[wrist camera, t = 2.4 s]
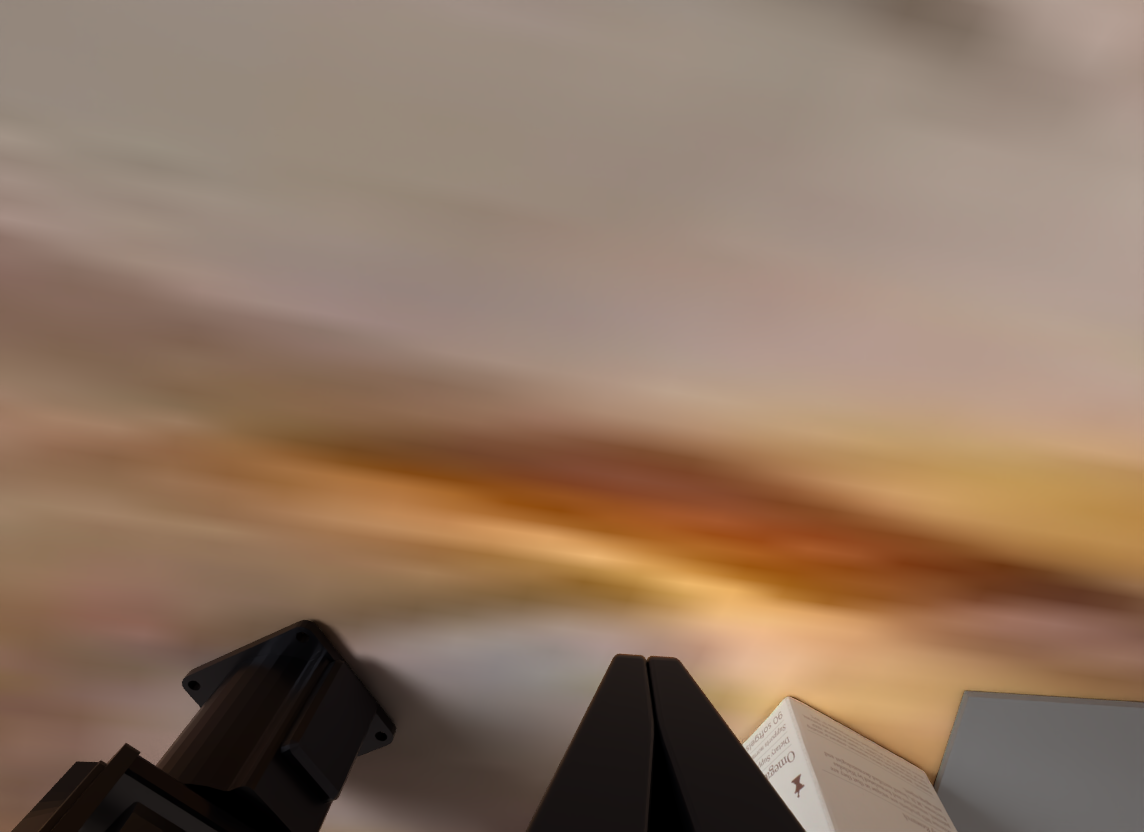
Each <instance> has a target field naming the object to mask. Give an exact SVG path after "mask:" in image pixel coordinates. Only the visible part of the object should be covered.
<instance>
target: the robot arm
mask: <svg viewBox="0 0 1144 832" xmlns="http://www.w3.org/2000/svg"><path fill="white" fill-rule="evenodd" d="M302 632H304V633H306V634H307V635H308V636H306V635H304V634H303V633H302ZM182 686H183V688H184V689H185V690H186V692H187V693H188V694H189V695H190V696H191V697H192V698H193V699H194V700H195V702H196V703H197V704H198V705H199V706H200V707H201V709H200V710H199V711H198V712H197V714H196V715H195V716H194V717H193V719H192V720H191V721H190V723H189V724H188V725H187V726H186V728H185V729H184V730H183V731H182V733H181V734H180V735H179V737H178V738H177V739H176V740H175V742H174V743H173V744H172V746H171V747H170V748H169V749H168V751H167V752H166V753H165V754H164V756H163V757H162V758H161V760H160V761H159V762H158V763H157V765H156V766H155V765H153V764H152V763H150V762H149V761H147V760H145V759H144V758H142V757H141V756H139V754H140V751H138V750H137V749H135V748H133V747H132V746H130V745H129V744H127V743H125V744H124V746H123V747H122V748H121V749H120V750H119V751H118V752H117V753H116V754H115V755H114V756H113V757H112V758H111V759H110V760H109V761H108V763H107V764H106V763H105V762H103V761H101V760H100V761H99V762H76V763H75V764H74V765H73V766H72V767H71V768H70V769H69V770H68V771H67V772H66V773H65V775H64V776H63V777H62V778H61V779H60V780H59V781H58V782H57V783H56V784H55V785H54V786H53V787H52V789H51V790H50V791H49V792H48V793H47V794H46V795H45V796H44V797H43V798H42V799H41V800H40V801H39V803H38V804H37V805H36V806H35V807H34V808H33V809H32V810H31V811H30V812H29V813H28V814H27V815H26V816H25V818H24V819H23V820H22V821H21V822H20V823H19V824H18V825H17V826H16V827H15V828H14V829H13V830H12V831H11V832H319V831H320V829H321V826H322V824H323V822H324V820H325V817H326V815H327V813H328V811H329V809H330V806H331V804H332V802H333V800H336V799H337V798H338V797H339V795H340V793H341V791H342V789H343V786H344V784H345V782H346V780H347V777H348V775H349V773H350V770H351V768H352V766H353V764H354V761H355V759H356V757H357V756H360V755H363V754H365V753H368V752H370V751H373V750H376V749H378V748H381V747H383V746H386V745H388V744H390V743H391V742H392V740H393V738H394V736H395V733H396V727H395V725H394V723H393V722H392V721H391V720H390V718H389V717H388V716H387V714H386V713H385V712H384V711H383V709H382V708H381V707H380V705H379V704H378V703H377V702H376V700H375V699H374V698H373V697H372V695H371V694H370V693H369V691H368V690H367V689H366V688H365V686H364V685H363V684H362V682H361V681H360V680H359V679H358V677H357V676H356V675H355V673H354V672H353V671H352V670H351V668H350V667H349V666H348V665H347V663H346V662H345V661H344V659H343V658H342V657H341V656H340V654H339V653H338V652H337V650H336V649H335V648H334V647H333V645H332V644H331V643H330V641H329V640H328V639H327V638H326V636H325V635H324V634H323V633H322V631H321V630H320V629H319V627H318V626H317V625H316V624H315V623H313V622H311V621H308V620H302V621H299V622H297V623H294V624H292V625H290V626H288V627H285V628H283V629H281V630H279V631H277V632H274V633H272V634H270V635H268V636H266V637H263V638H261V639H259V640H257V641H254V642H252V643H250V644H248V645H246V646H243V647H241V648H239V649H237V650H235V651H232V652H230V653H228V654H226V655H223V656H221V657H219V658H217V659H215V660H212V661H210V662H208V663H206V664H203V665H201V666H199V667H197V668H195V669H192V670H191V671H190V672H189V673H188V674H187V675H186V676H185V678H184V679H183V681H182ZM382 732H384V733H382ZM526 832H806V831H805V829H804V828H803V827H802V825H801V824H800V823H799V821H798V820H797V819H796V817H795V816H794V814H793V813H792V812H791V810H790V809H789V808H788V806H787V805H786V804H785V802H784V801H783V800H782V798H781V797H780V796H779V794H778V793H777V791H776V790H775V789H774V787H773V786H772V785H771V783H770V782H769V781H768V779H767V778H766V777H765V775H764V774H763V773H762V771H761V770H760V768H759V767H758V766H757V764H756V763H755V762H754V760H753V759H752V758H751V756H750V755H749V754H748V752H747V751H746V750H745V748H744V747H743V745H742V744H741V743H740V741H739V740H738V739H737V737H736V736H735V735H734V733H733V732H732V731H731V729H730V728H729V727H728V725H727V724H726V722H725V721H724V720H723V718H722V717H721V716H720V714H719V713H718V712H717V710H716V709H715V708H714V706H713V705H712V704H711V702H710V701H709V699H708V698H707V697H706V695H705V694H704V693H703V691H702V690H701V689H700V687H699V686H698V685H697V683H696V682H695V681H694V679H693V678H692V676H691V675H690V674H689V672H688V671H687V670H686V668H685V667H684V666H683V664H682V663H681V662H680V661H679V660H678V659H677V658H674V657H660V656H650V657H648V659H647V660H646V659H645V657H643V656H642V655H630V654H617V655H615V656H614V658H613V659H612V661H611V663H610V665H609V667H608V669H607V671H606V673H605V675H604V677H603V679H602V681H601V683H600V685H599V687H598V689H597V691H596V693H595V695H594V697H593V699H592V701H591V703H590V705H589V707H588V709H587V711H586V713H585V715H584V717H583V719H582V721H581V723H580V725H579V727H578V729H577V731H576V733H575V735H574V737H573V739H572V741H571V743H570V745H569V747H568V749H567V751H566V753H565V754H564V756H563V758H562V760H561V762H560V764H559V766H558V768H557V770H556V772H555V774H554V776H553V778H552V780H551V782H550V784H549V786H548V788H547V790H546V792H545V794H544V796H543V798H542V800H541V802H540V804H539V806H538V808H537V810H536V812H535V814H534V816H533V818H532V820H531V822H530V824H529V826H528V828H527V830H526Z"/></svg>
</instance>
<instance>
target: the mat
mask: <svg viewBox="0 0 1144 832" xmlns="http://www.w3.org/2000/svg"><path fill="white" fill-rule="evenodd" d="M933 788H934V790H935V792H936V793H937V795H938V797H939V799H940V801H941V803H942V804H943V806H944V808H945V810H946V812H947V814H948V816H949V817H950V819H951V821H952V823H953V825H954V826H955V828H956V830H957V832H1144V702H1130V701H1115V700H1099V699H1084V698H1069V697H1053V696H1038V695H1022V694H1007V693H992V692H976V691H964V694H963V697H962V700H961V703H960V707H959V710H958V713H957V716H956V719H955V722H954V725H953V728H952V731H951V734H950V738H949V741H948V744H947V747H946V750H945V753H944V756H943V759H942V762H941V765H940V769H939V772H938V775H937V778H936V781H935V784H934V787H933Z"/></svg>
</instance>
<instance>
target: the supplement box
mask: <svg viewBox="0 0 1144 832" xmlns="http://www.w3.org/2000/svg"><path fill="white" fill-rule="evenodd" d="M742 745H743V747H744V748H745V750H746V751H747V752H748V754H749V755H750V756H751V758H752V759H753V760H754V762H755V763H756V764H757V766H758V767H759V768H760V770H761V771H762V773H763V774H764V775H765V777H766V778H767V779H768V781H769V782H770V783H771V785H772V786H773V787H774V789H775V790H776V791H777V793H778V794H779V796H780V797H781V798H782V800H783V801H784V802H785V804H786V805H787V806H788V808H789V809H790V810H791V812H792V813H793V814H794V816H795V817H796V819H797V820H798V821H799V823H800V824H801V825H802V827H803V828H804V829H805V831H806V832H957V830H956V828H955V826H954V825H953V823H952V821H951V819H950V817H949V816H948V814H947V812H946V810H945V808H944V806H943V804H942V803H941V801H940V799H939V797H938V795H937V793H936V792H935V790H934V788H933V786H932V784H931V783H930V781H929V779H928V777H927V775H926V773H925V772H924V771H923V770H921V769H919V768H918V767H916V766H915V765H913V764H911V763H909V762H907V761H906V760H904V759H902V758H901V757H899V756H897V755H895V754H893V753H892V752H890V751H888V750H886V749H884V748H882V747H881V746H879V745H877V744H876V743H874V742H872V741H870V740H869V739H867V738H865V737H863V736H861V735H860V734H858V733H856V732H854V731H853V730H851V729H849V728H847V727H846V726H844V725H842V724H840V723H838V722H836V721H834V720H833V719H831V718H829V717H828V716H826V715H824V714H822V713H820V712H818V711H816V710H815V709H813V708H811V707H810V706H808V705H806V704H804V703H802V702H800V701H798V700H796V699H794V698H792V697H790V696H787V697H785V698H784V699H783V700H782V702H781V703H780V704H779V705H778V706H777V707H776V709H775V710H774V711H773V712H772V713H771V714H770V716H769V717H768V718H767V719H766V720H765V721H764V722H763V723H762V724H761V725H760V726H759V728H758V729H757V730H756V731H755V732H754V733H753V734H752V735H751V736H750V737H749V738H748V739H747V740H746V741H745V742H744V743H743V744H742Z"/></svg>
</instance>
